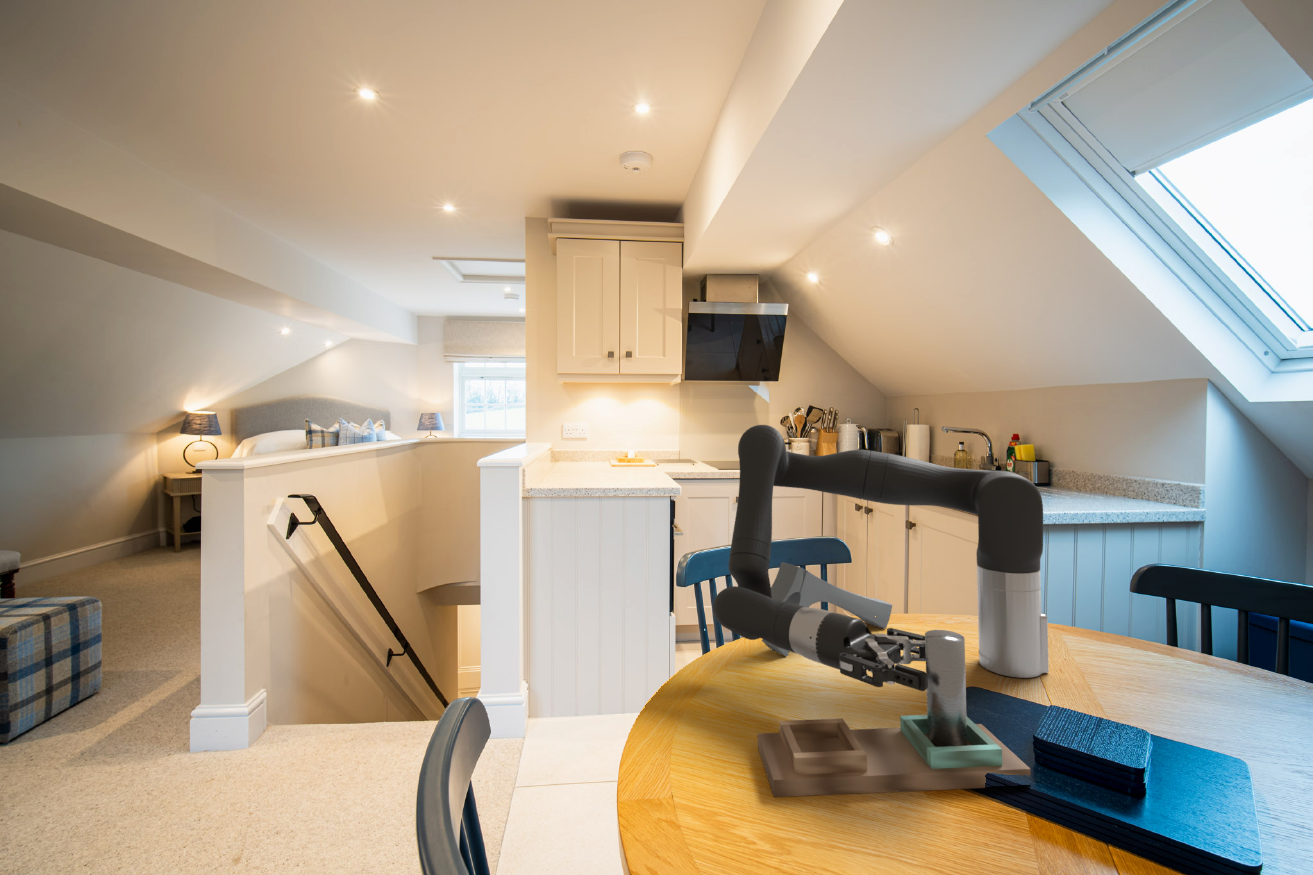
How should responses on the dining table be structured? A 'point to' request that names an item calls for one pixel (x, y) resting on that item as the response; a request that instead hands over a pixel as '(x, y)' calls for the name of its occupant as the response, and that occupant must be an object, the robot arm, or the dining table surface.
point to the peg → (946, 688)
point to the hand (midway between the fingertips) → (942, 671)
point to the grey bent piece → (824, 597)
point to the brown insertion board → (878, 758)
